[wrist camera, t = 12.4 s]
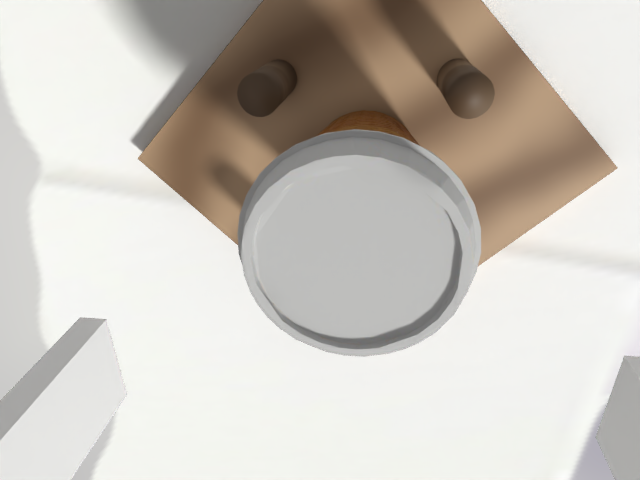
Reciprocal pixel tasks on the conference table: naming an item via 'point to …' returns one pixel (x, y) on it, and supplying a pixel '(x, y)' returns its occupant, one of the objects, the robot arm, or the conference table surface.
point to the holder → (381, 107)
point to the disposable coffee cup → (359, 238)
